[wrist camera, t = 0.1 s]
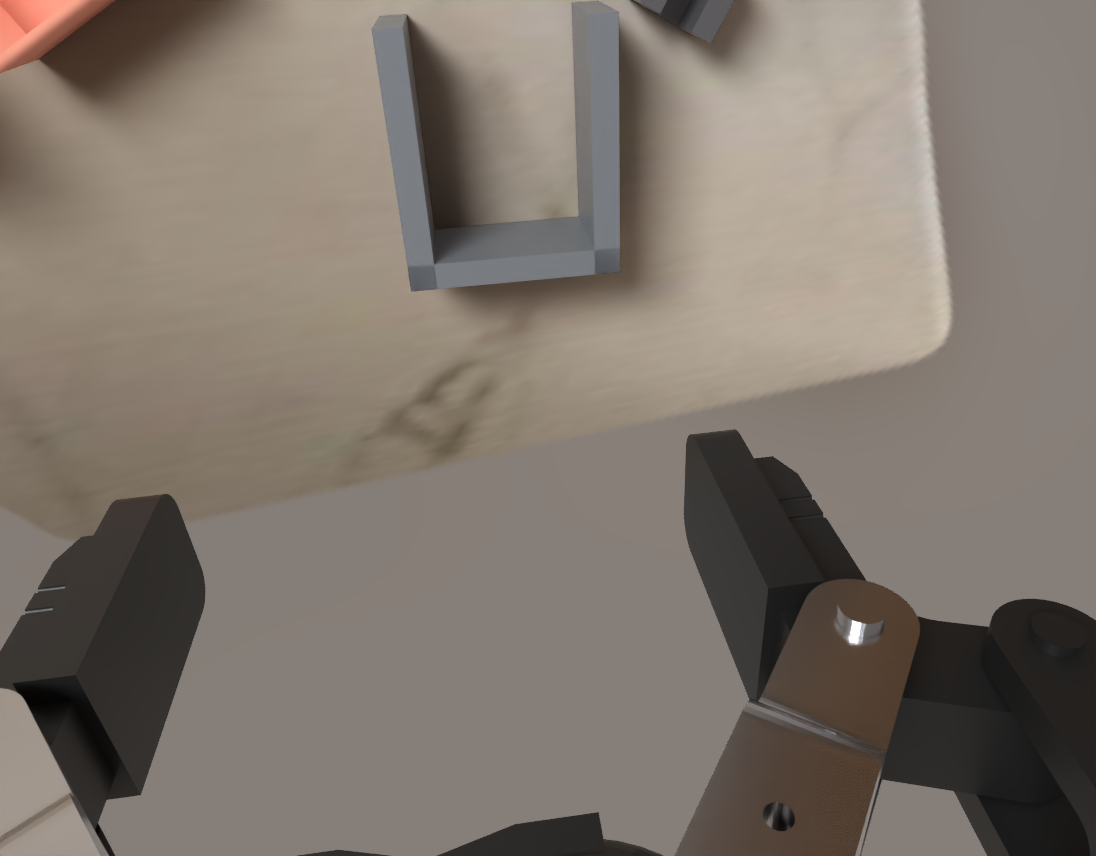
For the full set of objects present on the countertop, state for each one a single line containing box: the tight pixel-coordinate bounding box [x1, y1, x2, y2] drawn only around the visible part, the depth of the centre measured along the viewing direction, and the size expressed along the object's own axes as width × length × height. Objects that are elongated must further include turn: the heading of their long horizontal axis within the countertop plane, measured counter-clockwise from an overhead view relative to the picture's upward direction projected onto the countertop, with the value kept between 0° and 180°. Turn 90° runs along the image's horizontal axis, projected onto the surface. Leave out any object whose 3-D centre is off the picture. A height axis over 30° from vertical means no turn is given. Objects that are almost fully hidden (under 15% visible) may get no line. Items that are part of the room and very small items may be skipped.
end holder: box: [372, 1, 620, 292], centre depth 38 cm, size 11×10×5 cm
